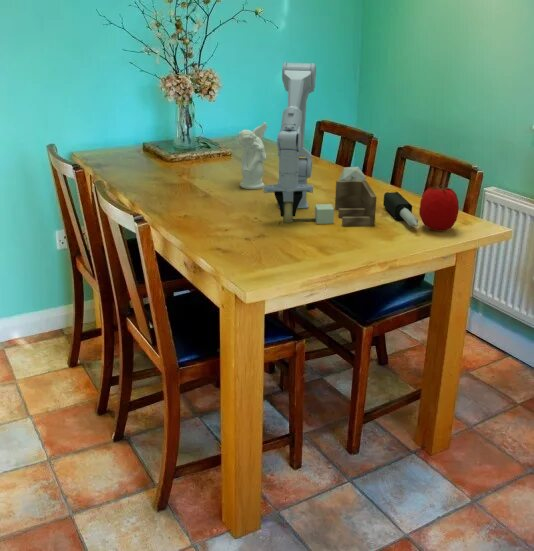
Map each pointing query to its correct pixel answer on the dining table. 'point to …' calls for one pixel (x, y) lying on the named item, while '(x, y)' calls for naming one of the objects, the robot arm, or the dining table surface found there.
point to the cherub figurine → (252, 157)
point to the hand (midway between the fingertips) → (287, 215)
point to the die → (352, 174)
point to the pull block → (322, 216)
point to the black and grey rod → (399, 208)
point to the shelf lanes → (355, 203)
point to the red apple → (439, 208)
